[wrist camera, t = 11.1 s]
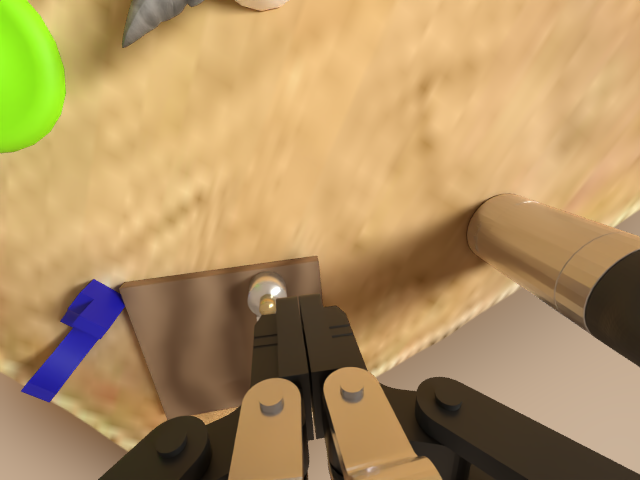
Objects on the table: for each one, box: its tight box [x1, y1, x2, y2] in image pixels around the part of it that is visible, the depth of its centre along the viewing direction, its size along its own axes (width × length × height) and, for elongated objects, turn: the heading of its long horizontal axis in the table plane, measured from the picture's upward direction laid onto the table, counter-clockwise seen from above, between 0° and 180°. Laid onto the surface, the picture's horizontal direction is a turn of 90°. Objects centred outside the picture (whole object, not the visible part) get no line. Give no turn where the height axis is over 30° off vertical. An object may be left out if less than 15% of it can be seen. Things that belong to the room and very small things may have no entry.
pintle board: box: [119, 256, 323, 420], centre depth 40 cm, size 23×21×6 cm
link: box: [248, 271, 287, 321], centre depth 39 cm, size 18×4×5 cm, turn 4°
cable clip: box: [21, 279, 125, 402], centre depth 36 cm, size 12×4×6 cm, turn 138°
